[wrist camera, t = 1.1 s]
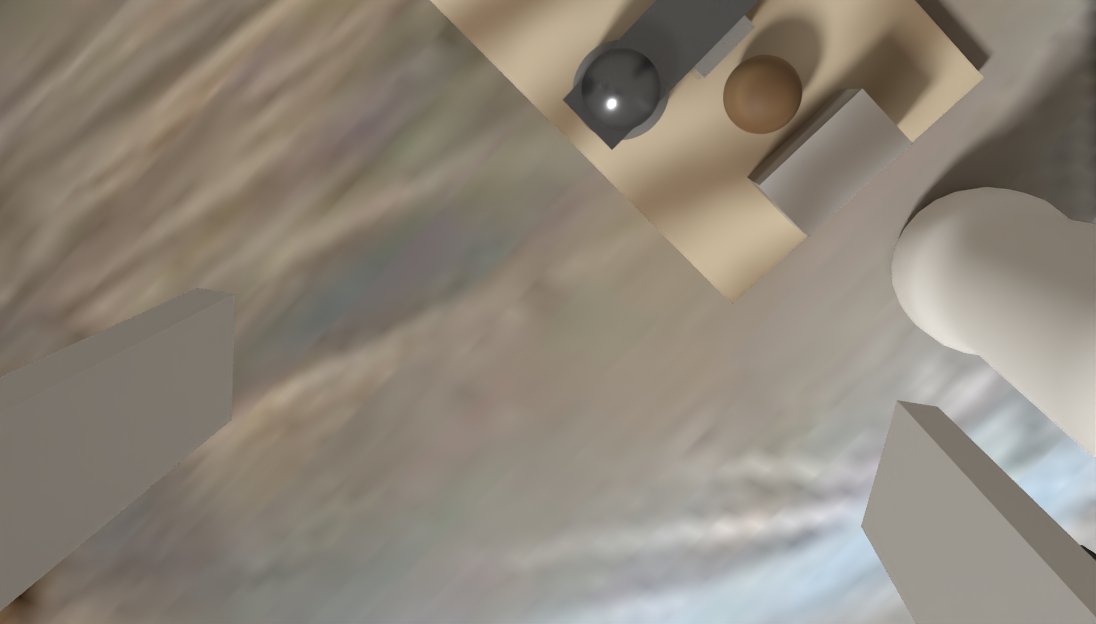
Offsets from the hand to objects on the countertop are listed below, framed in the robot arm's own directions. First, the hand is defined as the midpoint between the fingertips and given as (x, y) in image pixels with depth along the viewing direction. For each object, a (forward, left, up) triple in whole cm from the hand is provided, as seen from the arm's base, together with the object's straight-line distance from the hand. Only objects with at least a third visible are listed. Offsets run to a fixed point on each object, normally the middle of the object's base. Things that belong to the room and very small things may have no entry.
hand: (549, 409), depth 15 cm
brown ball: (+1, +10, -26) cm, 28 cm away
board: (-3, +10, -27) cm, 29 cm away
